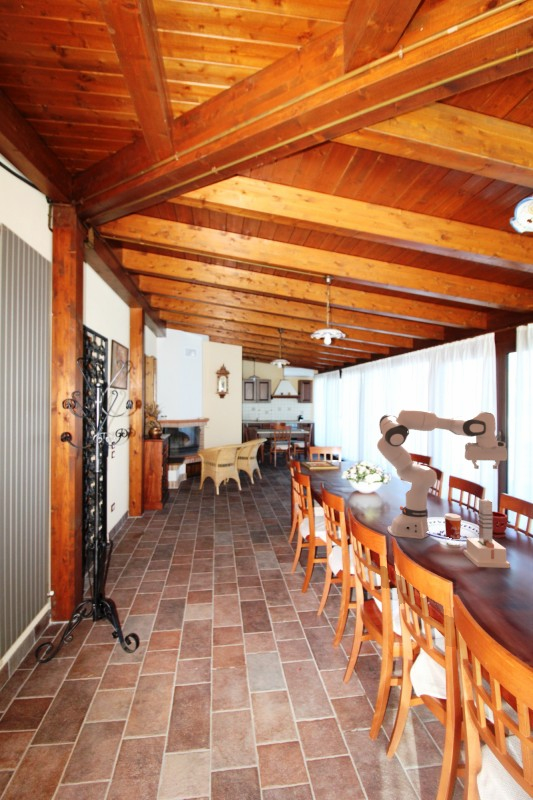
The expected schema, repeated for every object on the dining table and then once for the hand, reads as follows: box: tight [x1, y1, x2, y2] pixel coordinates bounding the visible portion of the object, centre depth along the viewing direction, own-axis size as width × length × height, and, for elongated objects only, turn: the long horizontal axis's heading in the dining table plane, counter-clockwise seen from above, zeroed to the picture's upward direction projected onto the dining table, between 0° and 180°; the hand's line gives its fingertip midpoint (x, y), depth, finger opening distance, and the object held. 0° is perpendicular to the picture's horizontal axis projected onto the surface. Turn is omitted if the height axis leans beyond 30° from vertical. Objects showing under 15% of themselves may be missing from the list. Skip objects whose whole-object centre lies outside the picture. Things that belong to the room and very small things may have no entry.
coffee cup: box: [443, 513, 462, 540], centre depth 191 cm, size 8×8×15 cm
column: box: [478, 499, 493, 546], centre depth 171 cm, size 4×4×22 cm
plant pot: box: [492, 510, 509, 539], centre depth 203 cm, size 13×13×12 cm
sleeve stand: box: [462, 537, 511, 569], centre depth 171 cm, size 14×14×10 cm
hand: (485, 468), depth 192 cm, fingers open, 8 cm apart
